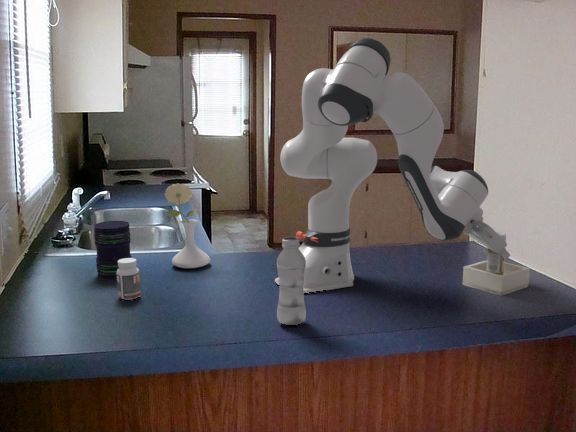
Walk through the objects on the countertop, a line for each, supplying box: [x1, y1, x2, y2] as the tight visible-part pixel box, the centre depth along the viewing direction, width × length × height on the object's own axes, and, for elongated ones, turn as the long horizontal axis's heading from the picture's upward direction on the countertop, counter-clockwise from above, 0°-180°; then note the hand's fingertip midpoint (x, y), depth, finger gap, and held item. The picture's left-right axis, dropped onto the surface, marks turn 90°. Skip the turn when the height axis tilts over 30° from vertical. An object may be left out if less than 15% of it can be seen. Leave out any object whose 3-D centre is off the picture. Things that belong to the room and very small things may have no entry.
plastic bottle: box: [276, 236, 307, 326], centre depth 151 cm, size 6×7×20 cm
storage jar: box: [93, 220, 133, 281], centre depth 190 cm, size 10×10×15 cm
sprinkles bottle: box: [486, 231, 507, 275], centre depth 176 cm, size 5×5×13 cm
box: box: [462, 259, 531, 297], centre depth 178 cm, size 12×12×5 cm
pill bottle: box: [116, 257, 142, 299], centre depth 171 cm, size 6×6×10 cm
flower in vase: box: [163, 182, 211, 269], centre depth 198 cm, size 13×11×25 cm
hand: (499, 252), depth 176 cm, fingers open, 8 cm apart
